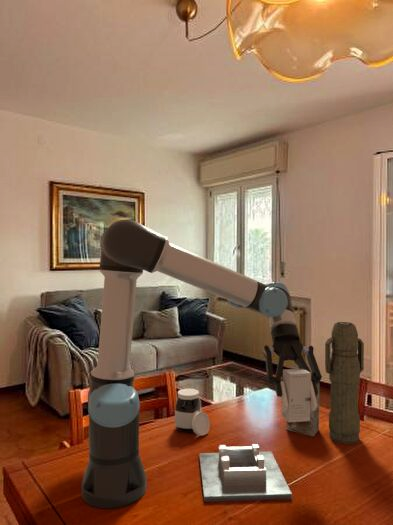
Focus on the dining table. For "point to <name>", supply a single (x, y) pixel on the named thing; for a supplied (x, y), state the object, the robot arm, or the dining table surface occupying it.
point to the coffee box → (307, 426)
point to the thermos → (344, 381)
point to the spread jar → (190, 413)
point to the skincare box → (297, 395)
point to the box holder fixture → (242, 475)
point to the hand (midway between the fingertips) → (300, 408)
